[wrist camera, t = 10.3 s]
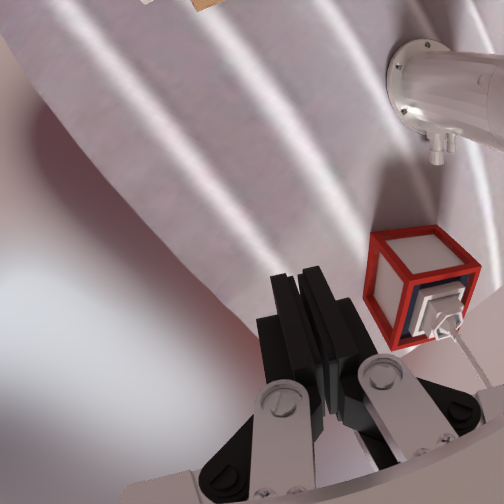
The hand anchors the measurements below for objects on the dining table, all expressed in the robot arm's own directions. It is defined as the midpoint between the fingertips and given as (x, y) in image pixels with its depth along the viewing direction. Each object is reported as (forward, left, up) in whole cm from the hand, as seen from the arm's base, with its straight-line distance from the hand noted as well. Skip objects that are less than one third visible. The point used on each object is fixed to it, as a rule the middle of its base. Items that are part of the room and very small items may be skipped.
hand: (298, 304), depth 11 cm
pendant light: (-21, -19, -27) cm, 40 cm away
